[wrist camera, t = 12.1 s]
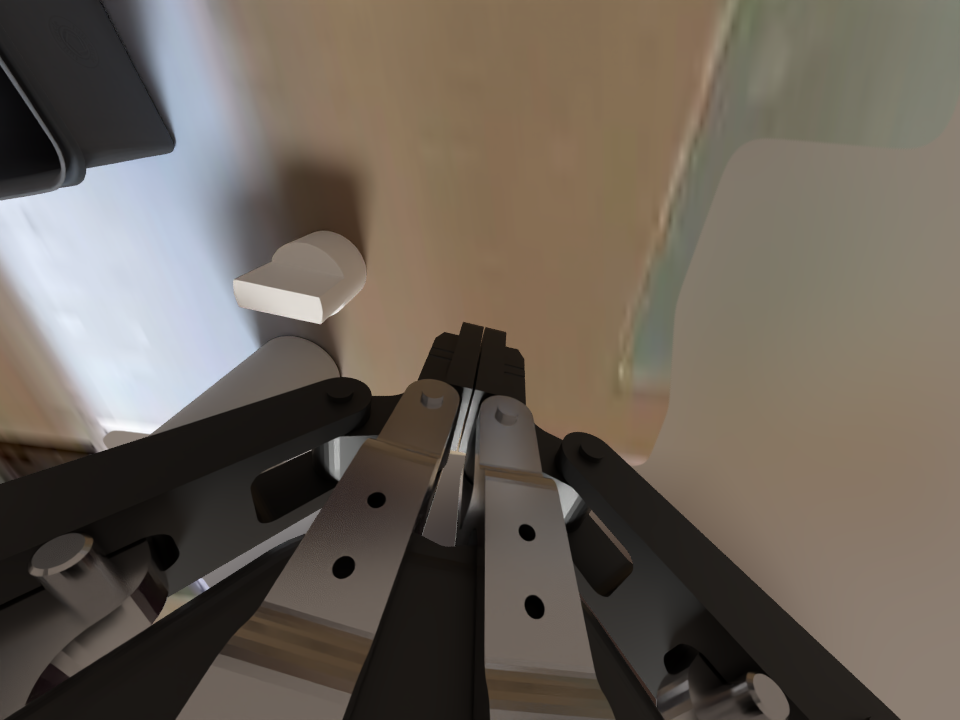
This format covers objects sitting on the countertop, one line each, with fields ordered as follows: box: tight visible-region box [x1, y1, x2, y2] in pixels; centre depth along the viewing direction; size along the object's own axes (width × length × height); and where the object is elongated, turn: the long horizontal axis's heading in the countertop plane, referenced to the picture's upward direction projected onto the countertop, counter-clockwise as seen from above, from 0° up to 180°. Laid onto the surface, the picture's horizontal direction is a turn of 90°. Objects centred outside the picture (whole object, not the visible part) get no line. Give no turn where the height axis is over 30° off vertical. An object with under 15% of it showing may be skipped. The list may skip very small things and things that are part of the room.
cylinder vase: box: [149, 336, 340, 473], centre depth 43 cm, size 12×12×25 cm
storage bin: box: [0, 0, 174, 200], centre depth 29 cm, size 21×16×14 cm
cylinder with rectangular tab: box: [233, 231, 367, 324], centre depth 39 cm, size 9×9×12 cm
